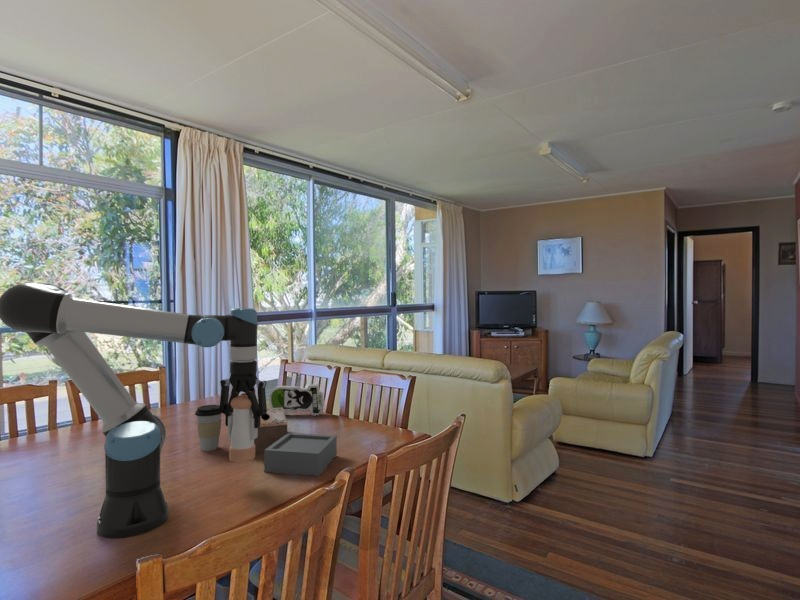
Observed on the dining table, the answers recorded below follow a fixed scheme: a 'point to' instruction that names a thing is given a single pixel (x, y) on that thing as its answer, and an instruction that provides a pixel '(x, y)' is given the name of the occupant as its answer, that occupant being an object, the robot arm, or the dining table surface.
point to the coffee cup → (208, 426)
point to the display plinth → (300, 454)
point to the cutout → (297, 399)
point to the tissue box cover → (270, 429)
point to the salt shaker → (241, 430)
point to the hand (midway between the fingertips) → (242, 437)
